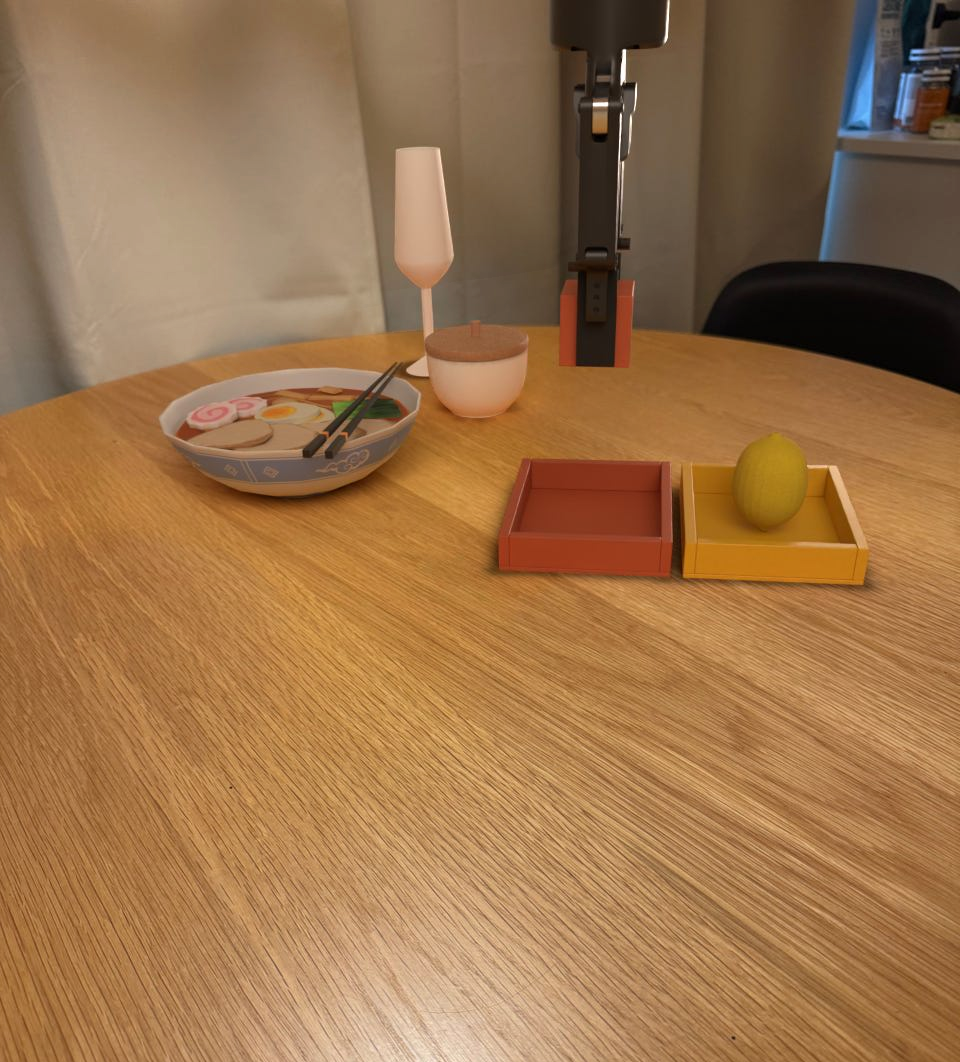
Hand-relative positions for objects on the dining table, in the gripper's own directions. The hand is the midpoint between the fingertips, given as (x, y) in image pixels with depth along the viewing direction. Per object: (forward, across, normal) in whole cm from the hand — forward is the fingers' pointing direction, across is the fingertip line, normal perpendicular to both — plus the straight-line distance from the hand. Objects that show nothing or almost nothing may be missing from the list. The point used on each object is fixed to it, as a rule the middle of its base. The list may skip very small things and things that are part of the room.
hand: (597, 353), depth 74 cm
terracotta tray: (+14, +1, 0) cm, 14 cm away
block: (0, 0, 0) cm, 0 cm away
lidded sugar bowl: (+14, -28, -14) cm, 35 cm away
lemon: (+14, +1, +13) cm, 19 cm away
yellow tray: (+14, +1, +13) cm, 19 cm away
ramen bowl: (+14, -7, -27) cm, 31 cm away
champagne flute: (+14, -42, -22) cm, 50 cm away
